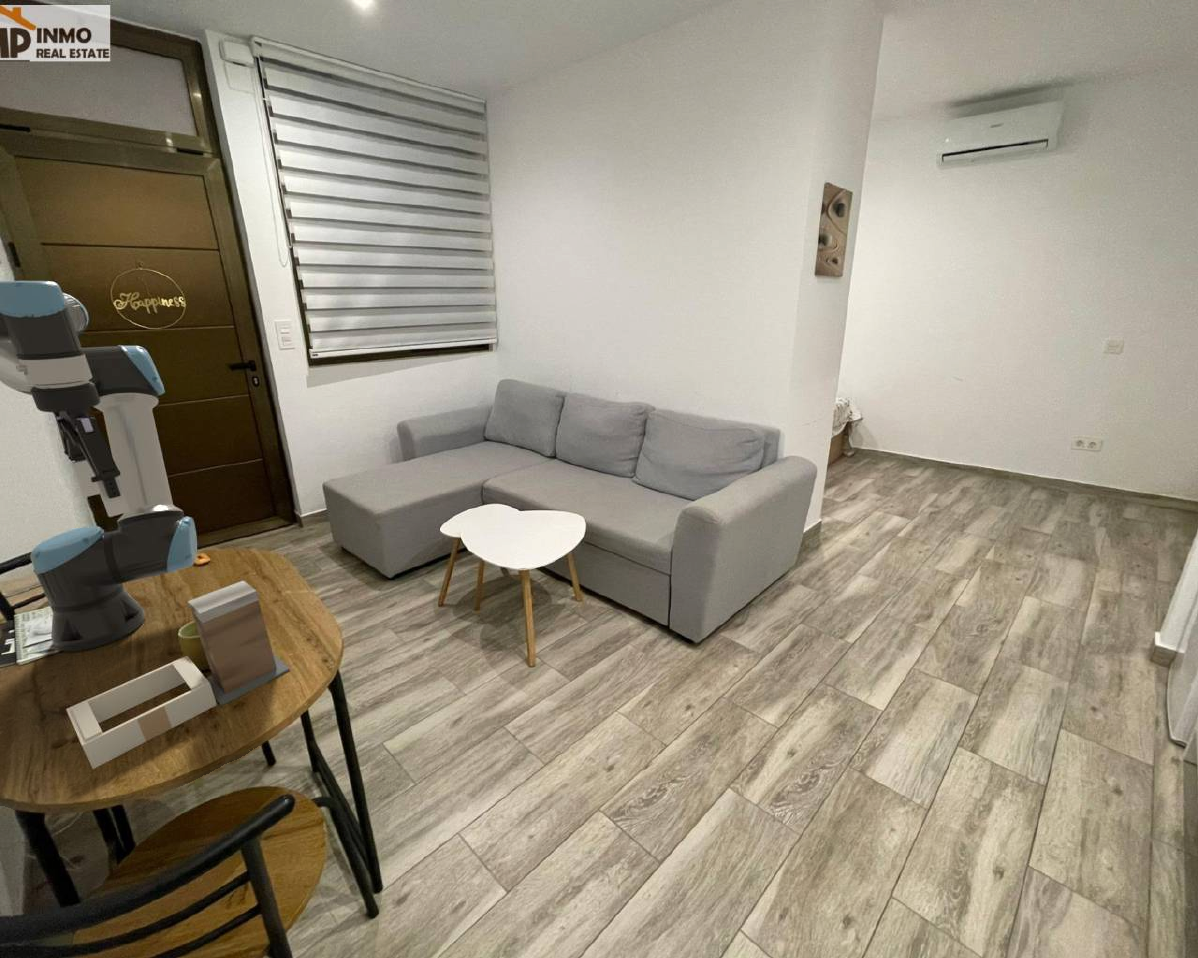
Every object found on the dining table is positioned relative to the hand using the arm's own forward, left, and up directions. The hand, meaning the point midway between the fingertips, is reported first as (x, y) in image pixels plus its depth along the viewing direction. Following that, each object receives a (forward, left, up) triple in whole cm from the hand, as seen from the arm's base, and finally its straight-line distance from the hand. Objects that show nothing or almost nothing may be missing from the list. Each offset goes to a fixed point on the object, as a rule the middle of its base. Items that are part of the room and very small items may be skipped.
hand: (106, 503), depth 92 cm
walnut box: (+14, +9, -36) cm, 40 cm away
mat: (+14, +9, -36) cm, 40 cm away
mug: (+2, +9, -37) cm, 38 cm away
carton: (+12, -6, -36) cm, 39 cm away
